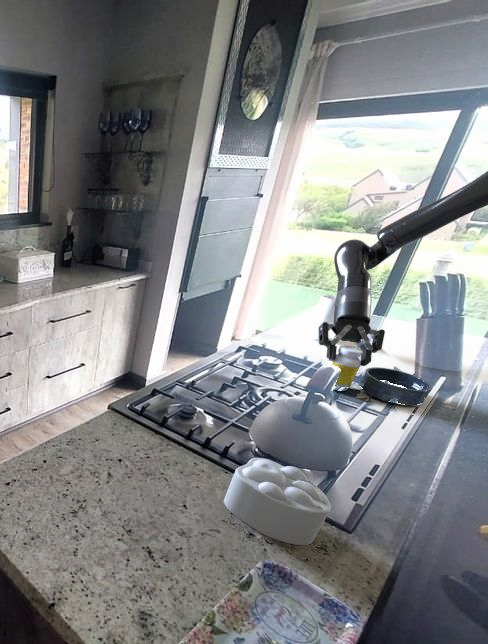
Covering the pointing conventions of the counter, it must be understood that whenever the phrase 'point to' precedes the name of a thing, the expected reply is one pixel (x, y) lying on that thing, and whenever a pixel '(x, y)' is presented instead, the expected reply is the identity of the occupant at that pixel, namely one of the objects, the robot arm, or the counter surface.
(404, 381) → the ring
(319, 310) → the drinking glass
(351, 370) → the pill bottle
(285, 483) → the lumpy-topped squat cylinder
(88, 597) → the counter surface
